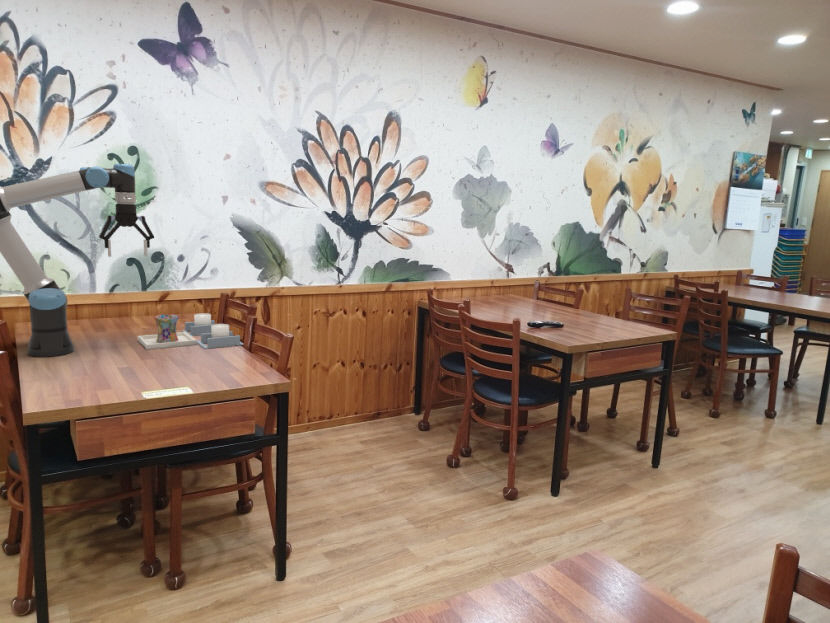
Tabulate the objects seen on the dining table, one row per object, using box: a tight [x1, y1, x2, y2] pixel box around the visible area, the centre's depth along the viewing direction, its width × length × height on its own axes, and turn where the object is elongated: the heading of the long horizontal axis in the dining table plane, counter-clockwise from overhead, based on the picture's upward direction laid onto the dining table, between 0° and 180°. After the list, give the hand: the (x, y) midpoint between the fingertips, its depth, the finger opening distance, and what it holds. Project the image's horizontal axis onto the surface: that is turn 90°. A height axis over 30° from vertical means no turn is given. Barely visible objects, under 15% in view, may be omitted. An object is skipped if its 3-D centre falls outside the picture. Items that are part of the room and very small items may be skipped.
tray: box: [137, 331, 197, 351], centre depth 251 cm, size 19×17×2 cm
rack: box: [181, 319, 244, 350], centre depth 263 cm, size 16×35×4 cm, turn 35°
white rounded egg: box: [211, 323, 230, 338], centre depth 252 cm, size 7×7×8 cm
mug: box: [153, 314, 179, 343], centre depth 250 cm, size 12×9×11 cm
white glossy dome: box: [193, 312, 212, 326], centre depth 272 cm, size 7×7×8 cm
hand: (128, 256), depth 249 cm, fingers open, 13 cm apart
